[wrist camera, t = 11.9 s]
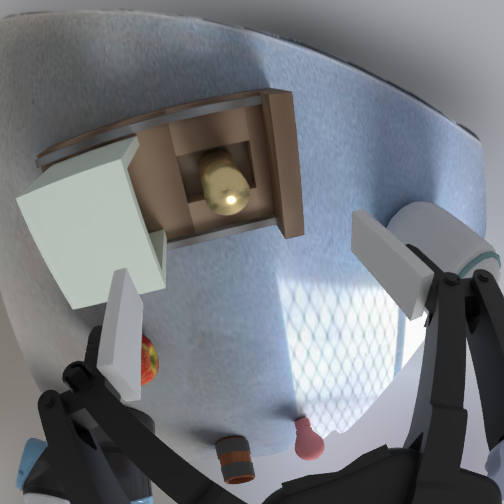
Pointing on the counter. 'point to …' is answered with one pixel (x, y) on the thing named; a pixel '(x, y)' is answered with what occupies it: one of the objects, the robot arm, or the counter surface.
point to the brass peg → (223, 183)
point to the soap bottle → (444, 240)
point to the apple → (148, 361)
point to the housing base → (188, 156)
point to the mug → (235, 460)
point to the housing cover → (93, 225)
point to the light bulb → (307, 441)
